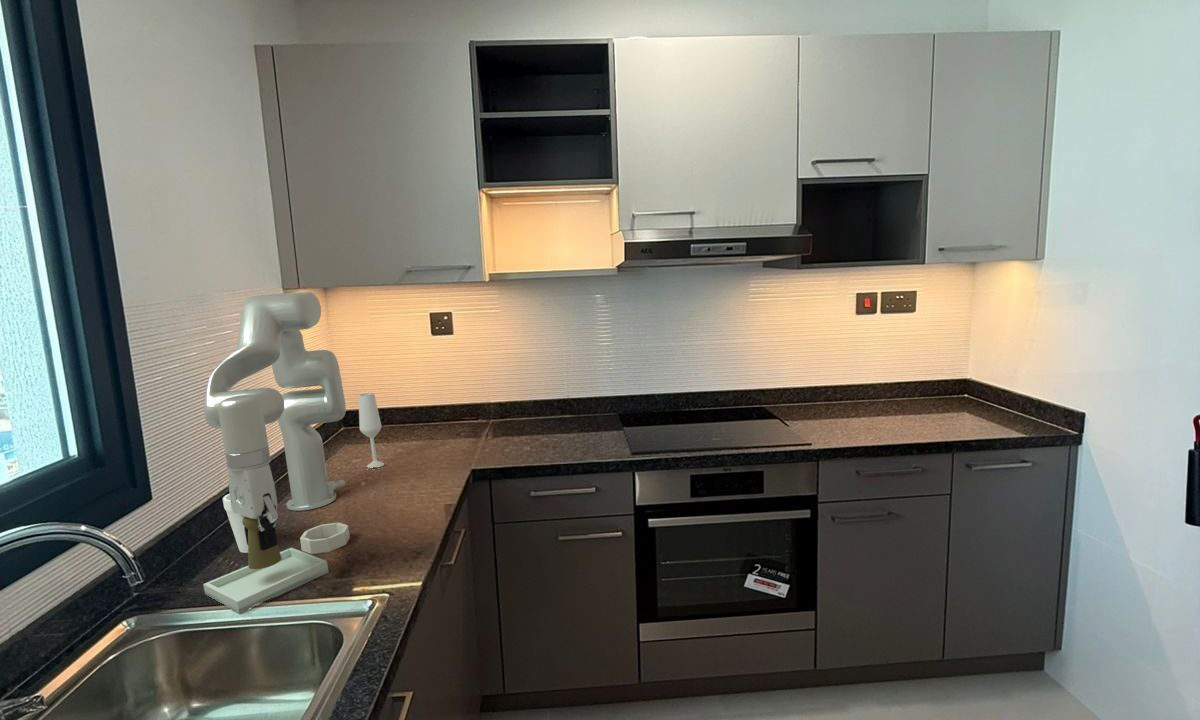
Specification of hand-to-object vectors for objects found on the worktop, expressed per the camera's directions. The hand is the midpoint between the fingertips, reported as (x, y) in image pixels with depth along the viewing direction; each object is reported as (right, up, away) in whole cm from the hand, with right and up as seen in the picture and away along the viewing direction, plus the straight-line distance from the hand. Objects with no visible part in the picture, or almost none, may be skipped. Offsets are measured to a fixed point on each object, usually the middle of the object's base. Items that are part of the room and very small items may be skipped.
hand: (262, 544), depth 126 cm
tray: (+1, -8, +1) cm, 9 cm away
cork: (0, -4, +1) cm, 4 cm away
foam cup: (-13, -7, +20) cm, 25 cm away
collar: (+5, -5, +19) cm, 20 cm away
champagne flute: (-5, +2, +78) cm, 78 cm away
